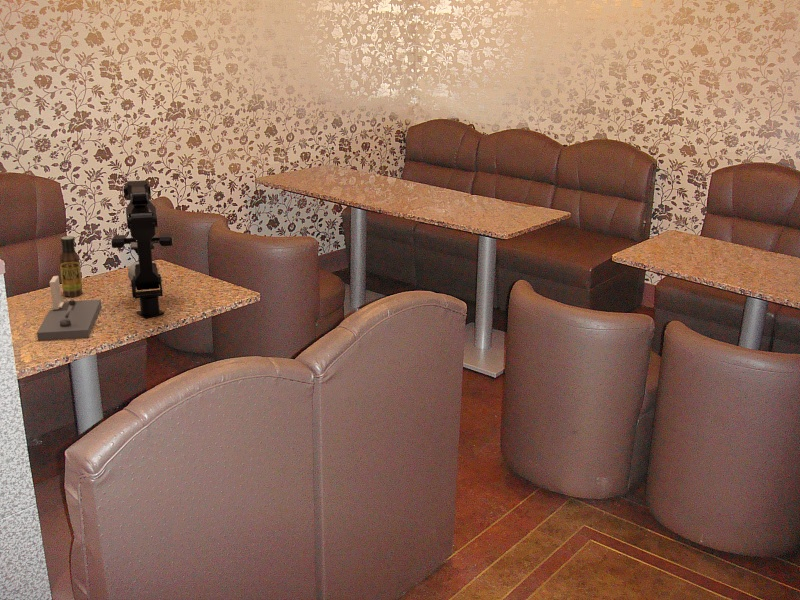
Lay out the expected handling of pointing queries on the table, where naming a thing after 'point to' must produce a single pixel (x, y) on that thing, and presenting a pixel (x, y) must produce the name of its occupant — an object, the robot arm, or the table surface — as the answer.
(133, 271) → the ceramic mug
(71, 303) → the steel toggle lever
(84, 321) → the switch panel
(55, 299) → the ivory paddle
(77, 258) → the sauce bottle
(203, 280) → the table surface
